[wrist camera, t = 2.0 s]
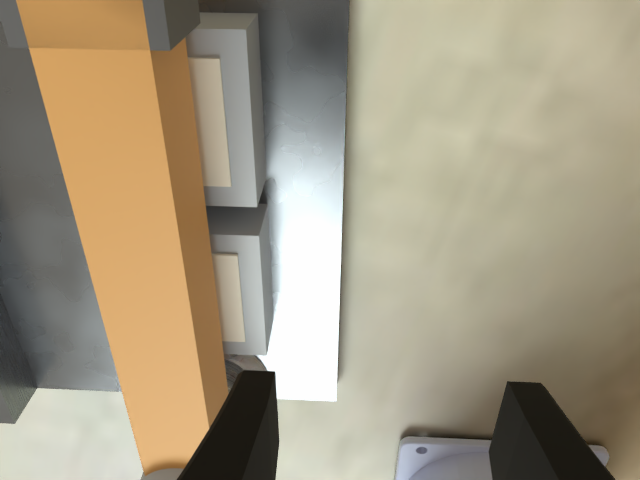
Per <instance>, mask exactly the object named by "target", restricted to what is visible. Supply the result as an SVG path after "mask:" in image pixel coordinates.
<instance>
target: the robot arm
mask: <svg viewBox="0 0 640 480" xmlns="http://www.w3.org/2000/svg"><path fill="white" fill-rule="evenodd" d="M278 448H279V429H278V411H277V392H276V373H275V371H256V370H243V371H242V372H240V373H239V374H238V375H237V377H236V380H235V382H234V384H233V386H232V388H231V390H230V392H229V394H228V396H227V398H226V400H225V402H224V403H223V405H222V407H221V409H220V411H219V413H218V414H217V416H216V418H215V420H214V421H213V423H212V425H211V426H210V428H209V430H208V432H207V433H206V435H205V436H204V438H203V440H202V441H201V443H200V444H199V446H198V447H197V449H196V451H195V452H194V454H193V455H192V457H191V459H190V460H189V462H188V463H187V465H186V466H185V468H184V469H183V471H182V473H181V474H180V475H179V477H178V478H177V480H275V477H276V468H277V458H278ZM608 460H609V454H608V452H607V450H606V448H605V447H603V446H599V445H588V444H587V443H586V442H585V440H584V439H583V438H582V437H581V435H580V434H579V433H578V431H577V430H576V429H575V427H574V426H573V425H572V423H571V422H570V421H569V419H568V418H567V417H566V415H565V414H564V413H563V411H562V410H561V409H560V407H559V406H558V404H557V403H556V402H555V400H554V399H553V398H552V396H551V395H550V394H549V392H548V391H547V390H546V388H545V387H544V386H543V385H542V384H541V383H531V382H508V381H507V385H506V388H505V392H504V396H503V400H502V403H501V407H500V411H499V414H498V418H497V422H496V426H495V429H494V433H493V437H492V440H477V439H456V438H435V437H414V436H409V437H405V438H403V439H402V440H401V441H400V443H399V450H398V458H397V466H396V473H395V480H615V478H614V477H613V476H612V475H611V474H610V472H609V471H608V470H607V469H606V467H605V466H606V464H607V462H608Z"/></svg>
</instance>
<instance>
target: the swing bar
mask: <svg viewBox="0 0 640 480" xmlns="http://www.w3.org/2000/svg"><path fill="white" fill-rule="evenodd" d="M0 18H1V22H2V25H3V29H4V32H5V36H6V39H7V42H8V46H9V48H29V50H30V54H31V57H32V61H33V65H34V68H35V72H36V76H37V80H38V83H39V87H40V91H41V94H42V98H43V102H44V105H45V109H46V113H47V116H48V120H49V124H50V128H51V131H52V135H53V139H54V142H55V146H56V150H57V153H58V157H59V161H60V165H61V168H62V172H63V176H64V179H65V183H66V187H67V190H68V194H69V198H70V201H71V205H72V209H73V213H74V216H75V220H76V224H77V227H78V231H79V235H80V238H81V242H82V246H83V249H84V253H85V257H86V261H87V264H88V268H89V272H90V275H91V279H92V283H93V286H94V290H95V294H96V297H97V301H98V305H99V309H100V312H101V316H102V320H103V323H104V327H105V331H106V334H107V338H108V342H109V345H110V349H111V353H112V357H113V360H114V364H115V368H116V371H117V375H118V379H119V382H120V386H121V390H122V393H123V397H124V401H125V405H126V408H127V412H128V416H129V419H130V423H131V427H132V430H133V434H134V438H135V441H136V445H137V449H138V453H139V456H140V460H141V464H142V467H143V471H144V472H143V475H142V477H141V480H177V478H178V477H179V475H180V474H181V473H182V471H183V469H184V468H185V466H186V465H187V463H188V462H189V460H190V459H191V457H192V455H193V454H194V452H195V451H196V449H197V447H198V446H199V444H200V443H201V441H202V440H203V438H204V436H205V435H206V433H207V432H208V430H209V428H210V426H211V425H212V423H213V421H214V420H215V418H216V416H217V414H218V413H219V411H220V409H221V407H222V405H223V403H224V402H225V400H226V398H227V396H228V386H227V377H226V369H225V361H224V353H223V344H222V336H221V328H220V320H219V311H218V303H217V295H216V287H215V278H214V270H213V262H212V254H211V245H210V237H209V229H208V221H207V212H206V204H205V196H204V188H203V179H202V171H201V163H200V155H199V146H198V138H197V130H196V122H195V113H194V105H193V97H192V89H191V80H190V72H189V64H188V56H187V47H186V39H185V37H186V36H187V35H188V34H189V33H190V32H191V31H193V30H194V29H195V28H196V27H197V26H198V25H199V24H200V23H201V22H200V12H199V3H198V0H0Z"/></svg>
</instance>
